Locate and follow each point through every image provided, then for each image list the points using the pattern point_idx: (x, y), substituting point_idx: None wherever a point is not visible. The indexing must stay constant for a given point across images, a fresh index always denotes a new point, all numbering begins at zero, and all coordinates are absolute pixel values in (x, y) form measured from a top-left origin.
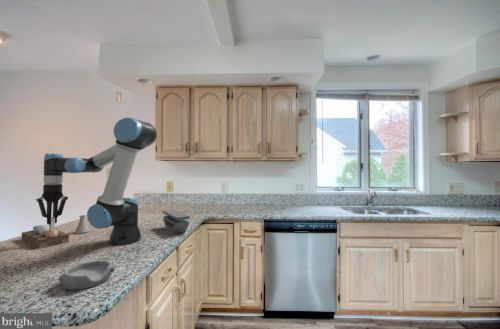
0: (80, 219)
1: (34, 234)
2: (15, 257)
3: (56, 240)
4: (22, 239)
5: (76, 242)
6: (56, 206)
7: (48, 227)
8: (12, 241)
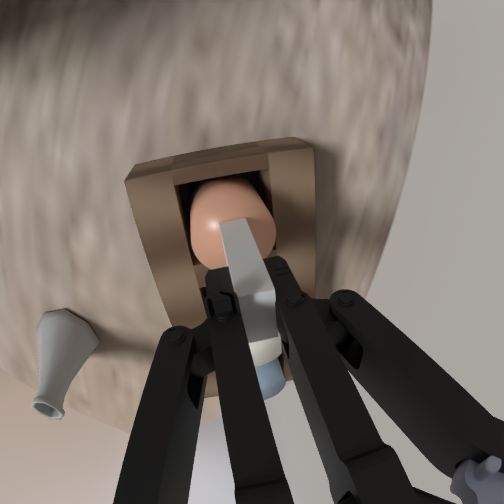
0: (60, 392)
1: None
2: (398, 68)
3: (207, 155)
4: None
5: (99, 124)
6: (248, 439)
7: None
8: None
